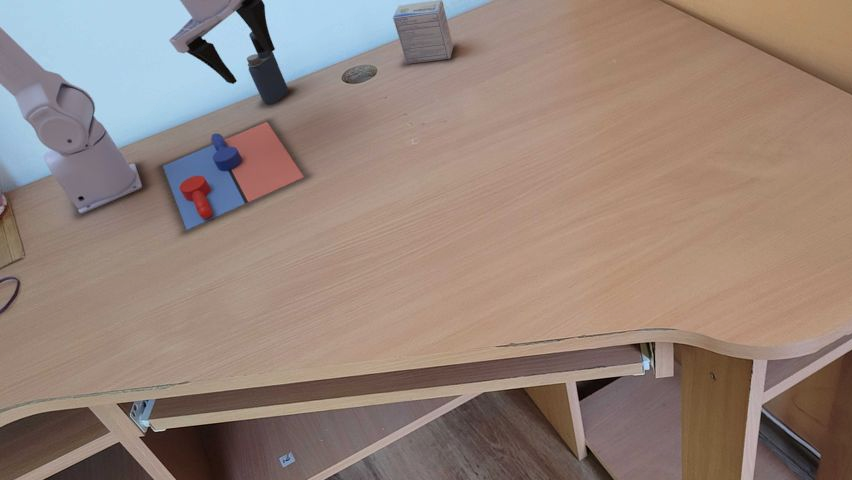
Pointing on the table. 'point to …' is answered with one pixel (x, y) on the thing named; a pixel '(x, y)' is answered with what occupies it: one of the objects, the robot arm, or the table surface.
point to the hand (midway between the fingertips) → (251, 65)
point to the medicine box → (423, 31)
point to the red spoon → (197, 194)
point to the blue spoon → (225, 154)
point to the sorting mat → (234, 173)
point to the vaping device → (266, 74)
